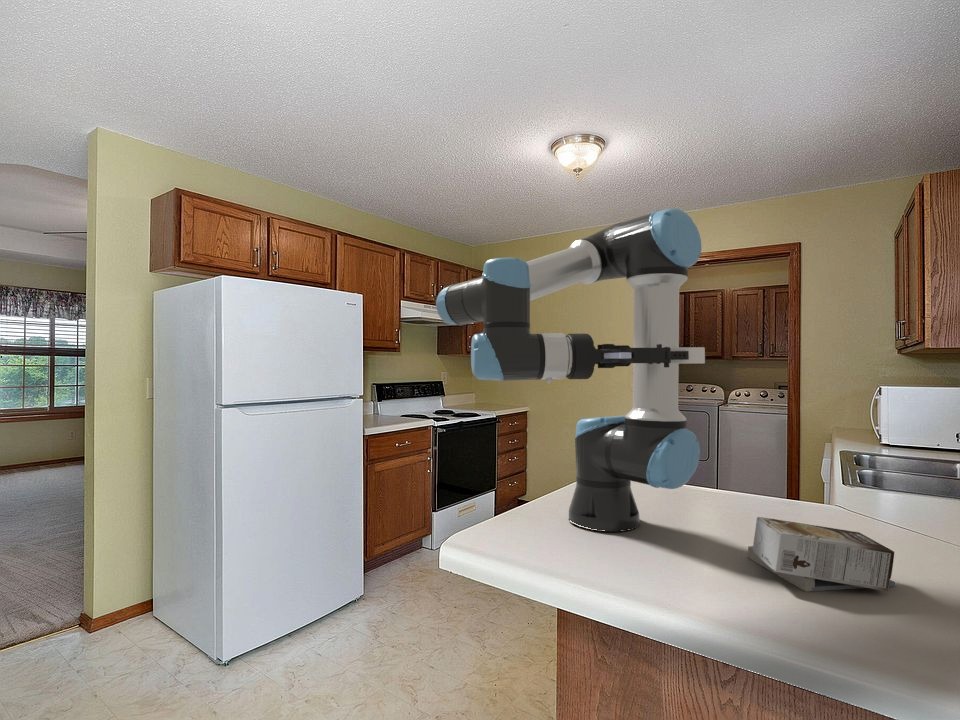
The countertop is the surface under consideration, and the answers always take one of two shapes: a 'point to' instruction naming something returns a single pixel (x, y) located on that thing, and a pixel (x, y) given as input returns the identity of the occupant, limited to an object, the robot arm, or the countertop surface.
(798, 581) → the mat
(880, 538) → the countertop surface
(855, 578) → the coffee box
